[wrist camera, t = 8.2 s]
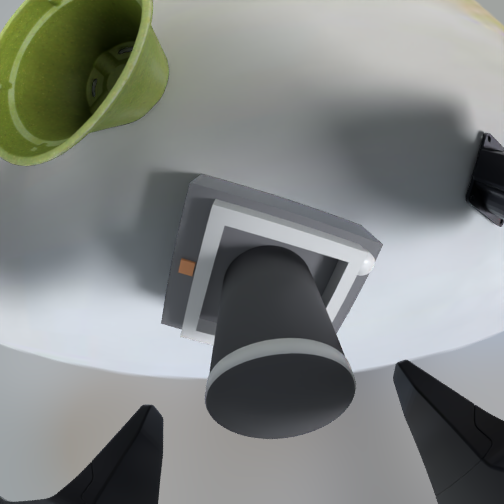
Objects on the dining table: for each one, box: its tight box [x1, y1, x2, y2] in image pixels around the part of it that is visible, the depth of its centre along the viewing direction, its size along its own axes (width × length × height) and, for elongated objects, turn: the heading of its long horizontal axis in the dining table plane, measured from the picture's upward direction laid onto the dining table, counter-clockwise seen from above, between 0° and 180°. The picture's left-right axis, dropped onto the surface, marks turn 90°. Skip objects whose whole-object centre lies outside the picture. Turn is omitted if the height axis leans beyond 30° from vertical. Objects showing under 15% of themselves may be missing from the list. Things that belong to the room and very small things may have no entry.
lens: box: [205, 245, 356, 439], centre depth 12 cm, size 5×5×8 cm
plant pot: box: [0, 0, 169, 166], centre depth 10 cm, size 9×9×9 cm
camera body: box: [161, 174, 383, 346], centre depth 16 cm, size 11×9×5 cm
